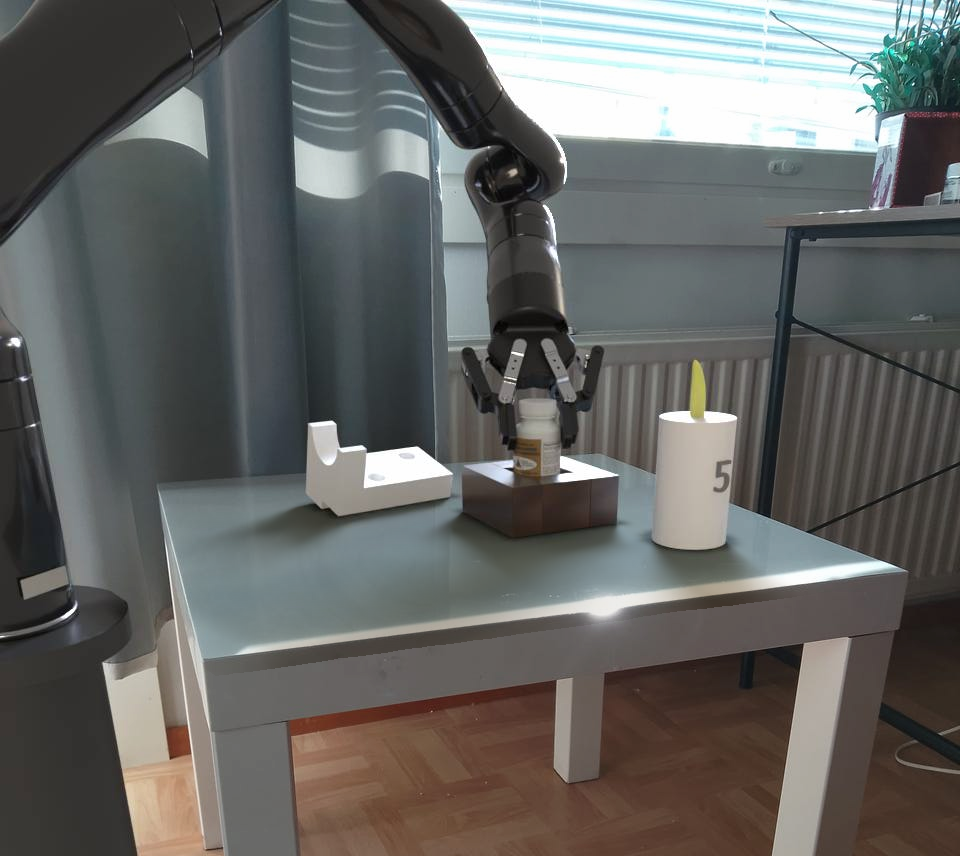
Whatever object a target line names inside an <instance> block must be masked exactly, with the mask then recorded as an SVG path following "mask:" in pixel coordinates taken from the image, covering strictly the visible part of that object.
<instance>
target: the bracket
mask: <svg viewBox="0 0 960 856" xmlns="http://www.w3.org/2000/svg"><path fill="white" fill-rule="evenodd" d="M337 425H338V424H337V423H335V422H334V421H333V420H325V421H317V422H316V421H315V422H308V423H307V444H306V472H305V473H306V474H305V475H306V476H305V477H306V478H305V495H307V497H308V498H309V499H310V500H312V502H314V504H316V505H317V506H318V507H319V508H320V509H322V510H324V509H330V510H331V511H332V512H333V513H334V514H335V515H336V516H337V517H342V516H343V517H344V516H348V515H354V514H359V513H360V514H361V513H365V512H371V511H377V510H382V509H389V508H394V507H400V506H405V505H411V504H412V505H413V504H418V503H424V502H429V501H434V500H440V499H445V498H451V495H452V486H453V478H454V473H452V472H451V471H450V470H449V469H447V468H446V467H445V466H443V465H442V464H441V463H440V462H438V461H437V460H436V459H434V458H433V457H432V456H431V455H429V454H428V453H427V452H425V451H424V450H423V449H421V448H420V447H419V446H413V447H404V448H397V449H389V450H382V451H375V452H367V451H368V450H367V448H366V447H365V446H364V445H353V446H345V447H341V446H340V442H339V439H338V431H337Z"/></svg>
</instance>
